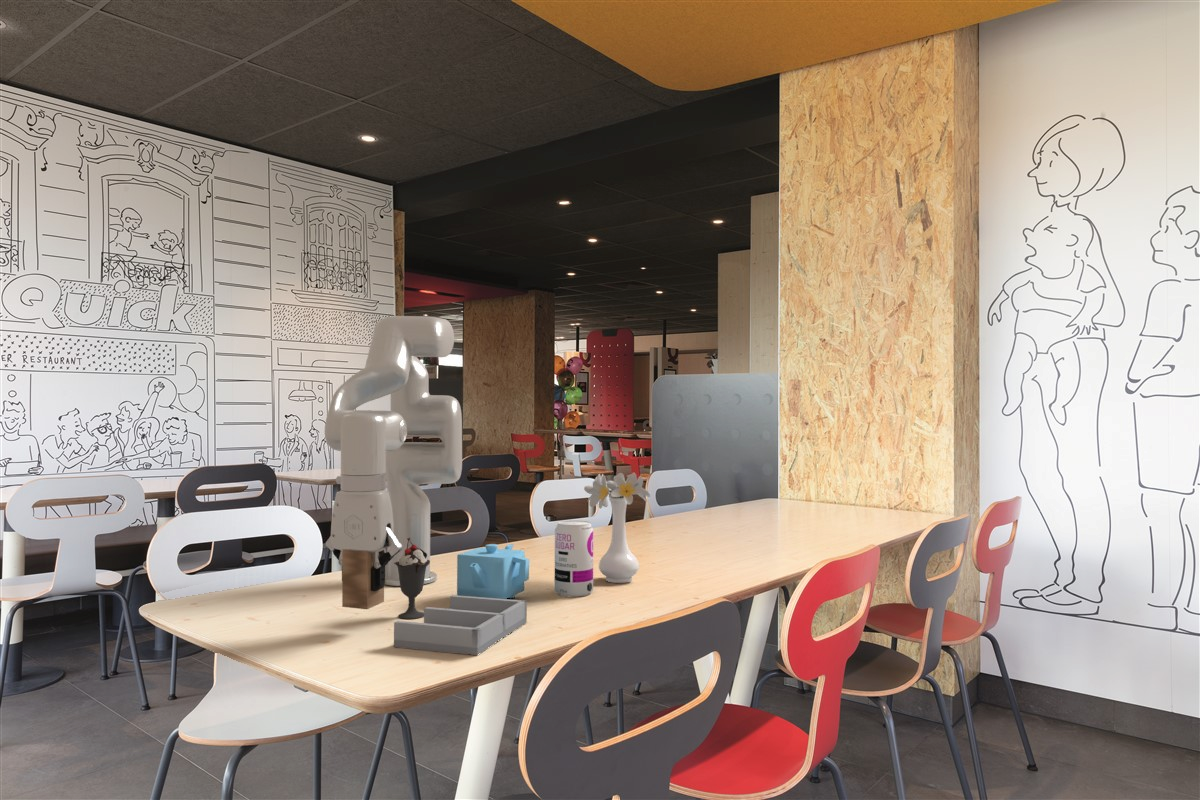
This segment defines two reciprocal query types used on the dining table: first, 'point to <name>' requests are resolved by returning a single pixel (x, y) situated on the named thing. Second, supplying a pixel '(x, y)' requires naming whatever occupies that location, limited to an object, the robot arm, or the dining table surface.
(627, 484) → the flower vase
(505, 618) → the grey divided tray
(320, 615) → the dining table surface
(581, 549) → the soda can
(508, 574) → the teapot
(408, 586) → the sundae
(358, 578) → the walnut block
